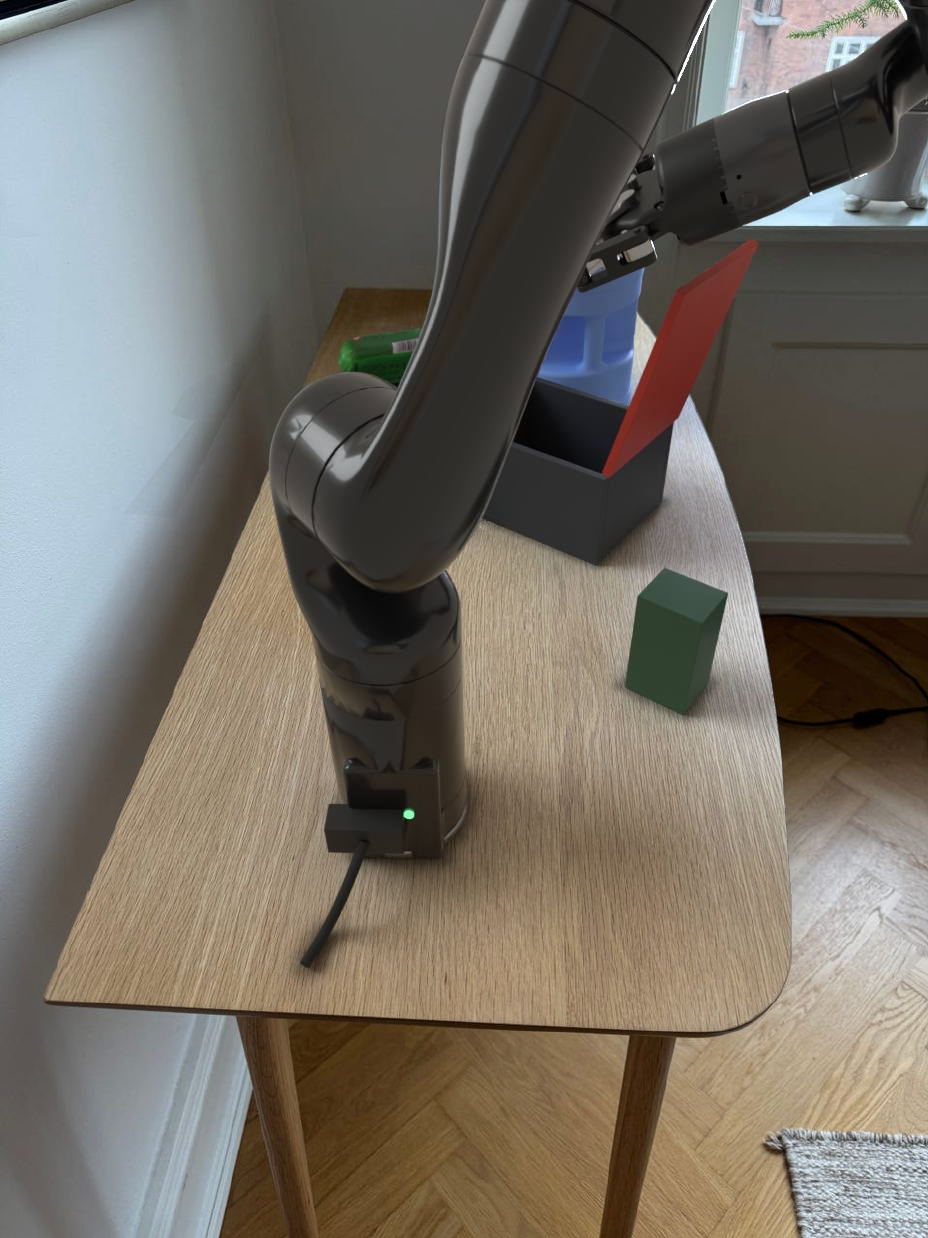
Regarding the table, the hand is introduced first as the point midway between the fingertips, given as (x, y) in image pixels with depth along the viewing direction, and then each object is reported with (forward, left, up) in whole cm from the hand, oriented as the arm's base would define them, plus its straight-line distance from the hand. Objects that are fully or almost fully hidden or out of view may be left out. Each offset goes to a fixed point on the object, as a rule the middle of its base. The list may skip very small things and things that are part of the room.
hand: (528, 255), depth 72 cm
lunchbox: (+8, -4, -29) cm, 31 cm away
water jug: (+31, -6, -29) cm, 43 cm away
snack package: (+38, +16, -29) cm, 51 cm away
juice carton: (-19, -12, -29) cm, 37 cm away
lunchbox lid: (+2, -13, -10) cm, 16 cm away
